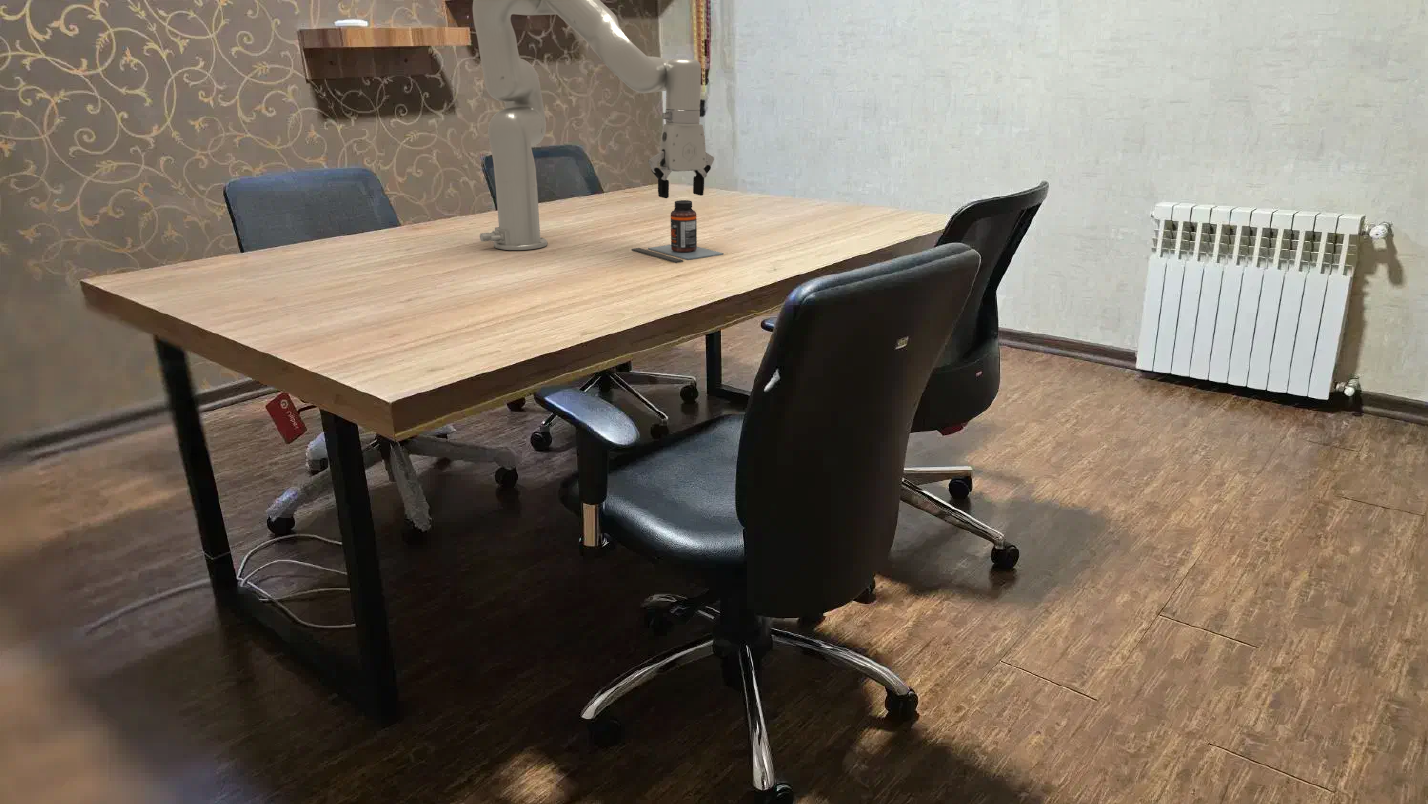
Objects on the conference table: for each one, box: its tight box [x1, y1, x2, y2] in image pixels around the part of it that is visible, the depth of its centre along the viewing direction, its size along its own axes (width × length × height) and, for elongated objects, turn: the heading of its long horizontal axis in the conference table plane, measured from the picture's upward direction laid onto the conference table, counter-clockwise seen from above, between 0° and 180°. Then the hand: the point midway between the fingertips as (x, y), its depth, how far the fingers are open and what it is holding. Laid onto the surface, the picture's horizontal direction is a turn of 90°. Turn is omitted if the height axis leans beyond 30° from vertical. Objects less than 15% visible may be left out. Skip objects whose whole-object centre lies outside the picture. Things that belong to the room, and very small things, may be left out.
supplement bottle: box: [670, 199, 698, 252], centre depth 222 cm, size 6×6×11 cm
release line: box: [631, 247, 684, 264], centre depth 220 cm, size 2×18×1 cm, turn 37°
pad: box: [647, 244, 724, 261], centre depth 224 cm, size 10×16×1 cm, turn 37°
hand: (681, 196), depth 220 cm, fingers open, 9 cm apart
